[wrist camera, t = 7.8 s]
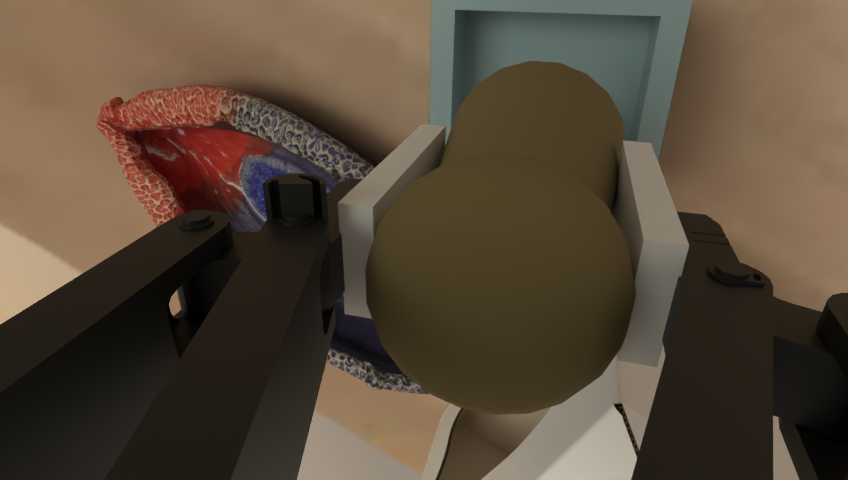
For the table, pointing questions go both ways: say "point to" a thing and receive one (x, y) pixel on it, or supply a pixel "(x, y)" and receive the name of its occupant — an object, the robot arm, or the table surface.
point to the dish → (239, 180)
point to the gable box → (563, 435)
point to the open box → (563, 51)
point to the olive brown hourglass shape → (510, 248)
